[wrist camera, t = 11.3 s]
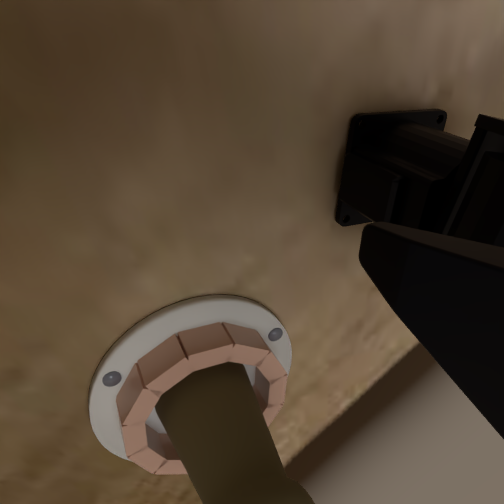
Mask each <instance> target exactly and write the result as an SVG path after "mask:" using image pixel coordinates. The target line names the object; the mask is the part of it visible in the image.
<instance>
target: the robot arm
mask: <svg viewBox="0 0 504 504" xmlns="http://www.w3.org/2000/svg"><path fill="white" fill-rule="evenodd" d="M437 118H438V119H437ZM446 119H447V113H446V112H445V111H443V110H440V109H427V110H409V111H392V112H375V113H359V114H356V115H355V116H354V117H353V118H352V120H351V123H350V129H349V135H348V142H347V148H346V154H345V160H344V166H343V172H342V179H341V185H340V191H339V198H338V205H337V211H336V222H337V223H338V224H340V225H341V226H351V225H356V224H362V223H368V222H374V223H371V224H367V225H366V226H365V227H364V229H363V232H362V238H361V244H360V250H359V261H360V264H361V266H362V267H363V268H364V270H365V271H366V273H367V274H368V276H369V277H370V278H371V280H372V281H373V283H374V284H375V286H376V287H377V288H378V290H379V291H380V293H381V294H382V296H383V297H384V298H385V300H386V301H387V303H388V304H389V305H390V307H391V308H392V310H393V311H394V312H395V313H396V315H397V316H398V317H399V318H400V320H401V321H402V322H403V323H404V324H405V325H406V326H407V328H408V329H409V330H410V331H411V332H412V333H413V335H414V336H415V337H416V338H417V339H418V340H419V342H420V343H421V344H422V345H423V346H424V347H425V349H426V350H427V351H428V352H429V353H430V354H431V355H432V357H433V358H434V359H435V360H436V361H437V362H438V364H439V365H440V366H441V367H442V368H443V369H444V371H445V372H446V373H447V374H448V375H449V376H450V378H451V379H452V380H453V381H454V382H455V383H456V384H457V386H458V387H459V388H460V389H461V390H462V391H463V392H464V394H465V395H466V396H467V397H468V398H469V400H470V401H471V402H472V403H473V404H474V405H475V406H476V408H477V409H478V410H479V411H480V412H481V414H483V416H484V417H485V418H486V419H487V420H488V422H489V423H490V424H491V425H492V426H493V427H494V429H495V430H496V431H497V432H498V433H499V434H500V436H501V437H502V438H503V439H504V119H500V118H495V117H491V116H487V115H482V114H479V115H478V118H477V120H476V122H475V125H474V126H476V128H475V130H474V133H473V135H472V137H471V140H468V139H465V138H462V137H459V136H456V135H453V134H450V133H447V132H444V131H443V130H444V127H445V123H446ZM361 120H362V124H361V126H360V127H359V123H360V121H361ZM344 216H346V217H345V218H344ZM343 218H344V219H343Z"/></svg>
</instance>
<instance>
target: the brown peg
mask: <svg viewBox="0 0 504 504" xmlns="http://www.w3.org/2000/svg"><path fill="white" fill-rule="evenodd" d="M155 410H156V413H157V415H158V417H159V419H160V421H161V423H162V425H163V427H164V429H165V431H166V433H167V435H168V437H169V438H170V440H171V442H172V444H173V446H174V448H175V450H176V452H177V454H178V456H179V458H180V460H181V462H182V464H183V466H184V468H185V469H186V471H187V473H188V475H189V477H190V479H191V481H192V483H193V485H194V487H195V489H196V491H197V493H198V495H199V497H200V498H201V500H202V502H203V504H315V503H314V502H313V500H312V498H311V497H310V495H309V494H308V493H307V491H306V490H305V489H304V488H303V487H302V486H301V485H300V484H299V483H298V482H297V481H295V480H292V479H290V478H288V477H287V476H286V473H285V470H284V468H283V465H282V463H281V460H280V457H279V455H278V452H277V450H276V447H275V444H274V442H273V439H272V437H271V434H270V431H269V429H268V426H267V424H266V421H265V419H264V416H263V413H262V411H261V408H260V406H259V403H258V400H257V398H256V395H255V393H254V390H253V387H252V385H251V382H250V380H249V377H248V374H247V372H246V369H245V367H244V365H243V364H241V363H235V362H229V361H228V362H225V363H221V364H218V365H214V366H211V367H207V368H204V369H200V370H196V371H193V372H192V373H190V374H189V375H188V376H186V377H185V378H184V379H182V380H181V381H179V382H178V383H177V384H175V385H174V386H173V387H171V388H170V389H168V390H167V391H166V392H164V393H163V394H162V395H161V396H160V398H159V400H158V402H157V403H156V405H155Z"/></svg>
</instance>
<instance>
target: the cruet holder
mask: <svg viewBox="0 0 504 504" xmlns="http://www.w3.org/2000/svg"><path fill="white" fill-rule="evenodd" d="M291 358H292V350H291V343H290V340H289V336H288V334H287V332H286V330H285V328H284V327H283V326H282V324H281V323H280V322H279V320H278V319H277V318H276V317H275V315H274V314H273V313H272V312H271V311H269V310H268V309H267V308H266V307H264V306H263V305H261V304H259V303H258V302H255V301H253V300H250V299H247V298H244V297H239V296H234V295H207V296H201V297H195V298H191V299H187V300H184V301H180V302H177V303H175V304H172V305H169V306H167V307H165V308H163V309H161V310H159V311H157V312H155V313H153V314H151V315H149V316H148V317H146V318H144V319H143V320H141V321H140V322H138V323H137V324H135V325H134V326H133V327H132V328H130V329H129V330H128V331H127V332H125V333H124V334H123V335H122V336H121V337H120V338H119V339H118V340H117V341H116V342H115V343H114V344H113V345H112V347H111V348H110V349H109V350H108V352H107V353H106V354H105V355H104V357H103V359H102V360H101V362H100V364H99V365H98V367H97V369H96V371H95V373H94V376H93V378H92V381H91V385H90V389H89V397H88V406H89V414H90V421H91V425H92V428H93V431H94V433H95V435H96V437H97V438H98V440H99V441H100V442H101V444H102V445H103V446H104V447H105V448H106V449H108V450H109V451H110V452H112V453H113V454H115V455H117V456H119V457H121V458H123V459H126V460H130V461H133V462H134V463H136V464H137V465H139V466H141V467H142V468H144V469H145V470H147V471H149V472H150V473H152V474H153V473H154V474H188V473H187V471H186V469H185V468H184V466H183V464H182V462H181V460H180V458H179V456H178V454H177V452H176V450H175V448H174V446H173V444H172V442H171V440H170V438H169V437H168V435H167V433H166V431H165V429H164V427H163V425H162V423H161V421H160V419H159V417H158V415H157V413H156V410H155V405H156V403H157V402H158V400H159V398H160V396H161V395H162V394H163V393H164V392H166V391H167V390H168V389H170V388H171V387H173V386H174V385H175V384H177V383H178V382H179V381H181V380H182V379H184V378H185V377H186V376H188V375H189V374H190V373H192V372H193V371H196V370H200V369H204V368H207V367H211V366H214V365H218V364H221V363H225V362H228V361H229V362H235V363H241V364H243V365H244V367H245V369H246V372H247V374H248V377H249V380H250V382H251V385H252V387H253V390H254V393H255V395H256V398H257V400H258V403H259V406H260V408H261V411H262V413H263V416H264V419H265V421H266V424H267V426H268V427H269V425H270V424H271V422H272V421H273V419H274V418H275V416H276V415H277V413H278V412H279V411H280V409H281V408H282V406H283V403H284V400H285V392H286V384H287V377H288V374H289V371H290V366H291Z"/></svg>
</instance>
